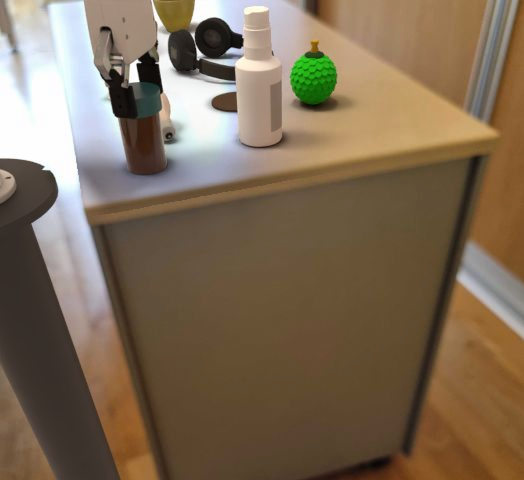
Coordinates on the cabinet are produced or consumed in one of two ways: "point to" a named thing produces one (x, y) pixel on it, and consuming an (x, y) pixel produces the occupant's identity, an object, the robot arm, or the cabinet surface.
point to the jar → (143, 144)
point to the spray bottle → (258, 83)
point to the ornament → (313, 76)
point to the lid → (146, 99)
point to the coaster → (225, 102)
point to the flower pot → (175, 13)
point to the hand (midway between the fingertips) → (140, 104)
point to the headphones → (205, 48)
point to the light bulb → (166, 119)
